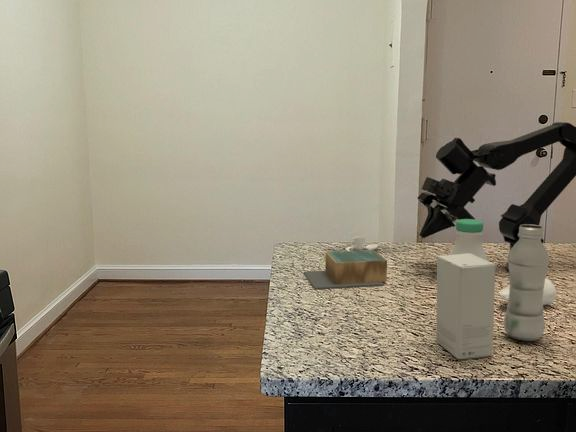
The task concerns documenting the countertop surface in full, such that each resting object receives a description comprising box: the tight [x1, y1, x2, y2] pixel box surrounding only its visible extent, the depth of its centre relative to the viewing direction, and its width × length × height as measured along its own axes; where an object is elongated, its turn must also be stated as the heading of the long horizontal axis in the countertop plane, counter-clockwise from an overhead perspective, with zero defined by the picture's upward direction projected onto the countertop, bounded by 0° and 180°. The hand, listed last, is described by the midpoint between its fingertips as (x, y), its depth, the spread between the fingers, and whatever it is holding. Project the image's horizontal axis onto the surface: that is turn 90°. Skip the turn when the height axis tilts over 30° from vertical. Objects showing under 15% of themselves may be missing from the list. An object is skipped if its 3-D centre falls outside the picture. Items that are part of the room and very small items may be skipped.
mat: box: [303, 270, 385, 290], centre depth 137 cm, size 16×13×1 cm
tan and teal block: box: [324, 249, 388, 284], centre depth 137 cm, size 5×10×12 cm
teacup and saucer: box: [345, 235, 379, 251], centre depth 165 cm, size 9×8×4 cm
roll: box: [497, 277, 557, 306], centre depth 118 cm, size 6×12×6 cm, turn 111°
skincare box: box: [435, 253, 497, 360], centre depth 97 cm, size 8×7×16 cm
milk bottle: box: [448, 219, 489, 261], centre depth 106 cm, size 8×8×20 cm
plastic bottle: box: [503, 224, 550, 342], centre depth 101 cm, size 6×7×20 cm
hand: (421, 236), depth 138 cm, fingers closed
